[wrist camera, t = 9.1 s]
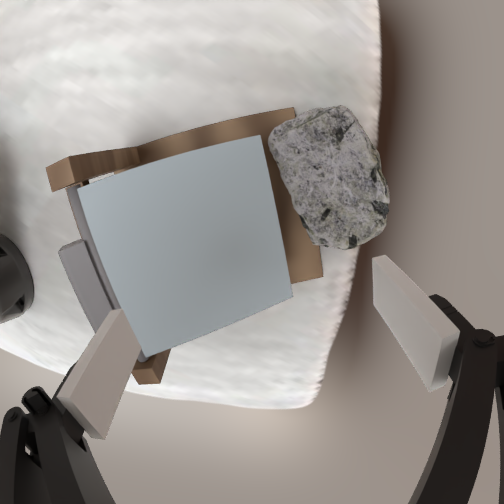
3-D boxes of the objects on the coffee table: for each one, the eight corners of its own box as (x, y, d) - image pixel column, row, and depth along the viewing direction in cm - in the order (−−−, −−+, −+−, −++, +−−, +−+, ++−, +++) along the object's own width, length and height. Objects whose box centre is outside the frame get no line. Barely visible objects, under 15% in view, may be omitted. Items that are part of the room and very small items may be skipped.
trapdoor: (117, 361, 25) (118, 372, 24) (46, 198, 19) (40, 200, 18) (286, 294, 31) (295, 300, 30) (252, 133, 25) (261, 131, 24)
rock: (311, 260, 32) (322, 237, 38) (403, 237, 27) (398, 216, 32) (257, 130, 28) (278, 128, 34) (351, 91, 23) (355, 98, 29)
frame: (159, 306, 39) (124, 385, 25) (109, 157, 32) (31, 175, 18) (321, 274, 38) (358, 349, 24) (292, 108, 30) (327, 84, 16)
